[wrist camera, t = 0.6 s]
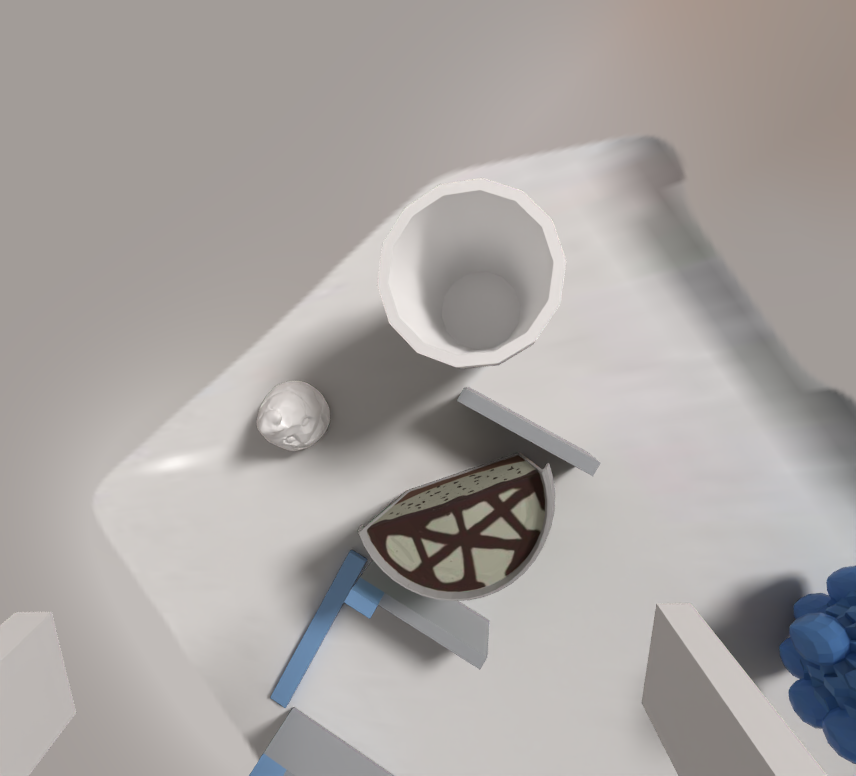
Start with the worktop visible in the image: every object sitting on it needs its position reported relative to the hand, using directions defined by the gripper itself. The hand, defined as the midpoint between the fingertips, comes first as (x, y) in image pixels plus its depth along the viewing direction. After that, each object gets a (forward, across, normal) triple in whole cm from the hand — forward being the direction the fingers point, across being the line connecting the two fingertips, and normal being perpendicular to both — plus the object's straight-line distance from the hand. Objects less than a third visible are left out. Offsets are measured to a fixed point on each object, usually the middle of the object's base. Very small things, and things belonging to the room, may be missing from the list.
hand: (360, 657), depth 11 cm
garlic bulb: (+29, +8, +4) cm, 30 cm away
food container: (+25, -6, +10) cm, 27 cm away
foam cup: (+28, -6, -4) cm, 29 cm away
